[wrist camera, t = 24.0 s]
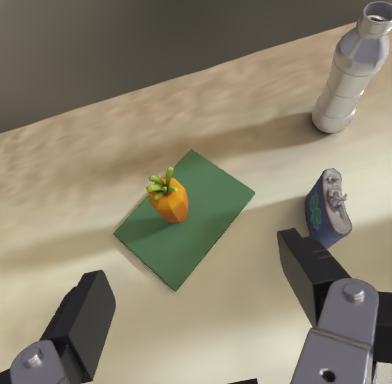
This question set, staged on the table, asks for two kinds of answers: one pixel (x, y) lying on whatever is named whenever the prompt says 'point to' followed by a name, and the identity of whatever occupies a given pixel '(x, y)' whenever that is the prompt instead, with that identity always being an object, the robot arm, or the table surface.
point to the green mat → (186, 220)
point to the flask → (327, 209)
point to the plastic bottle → (354, 67)
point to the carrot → (168, 198)
